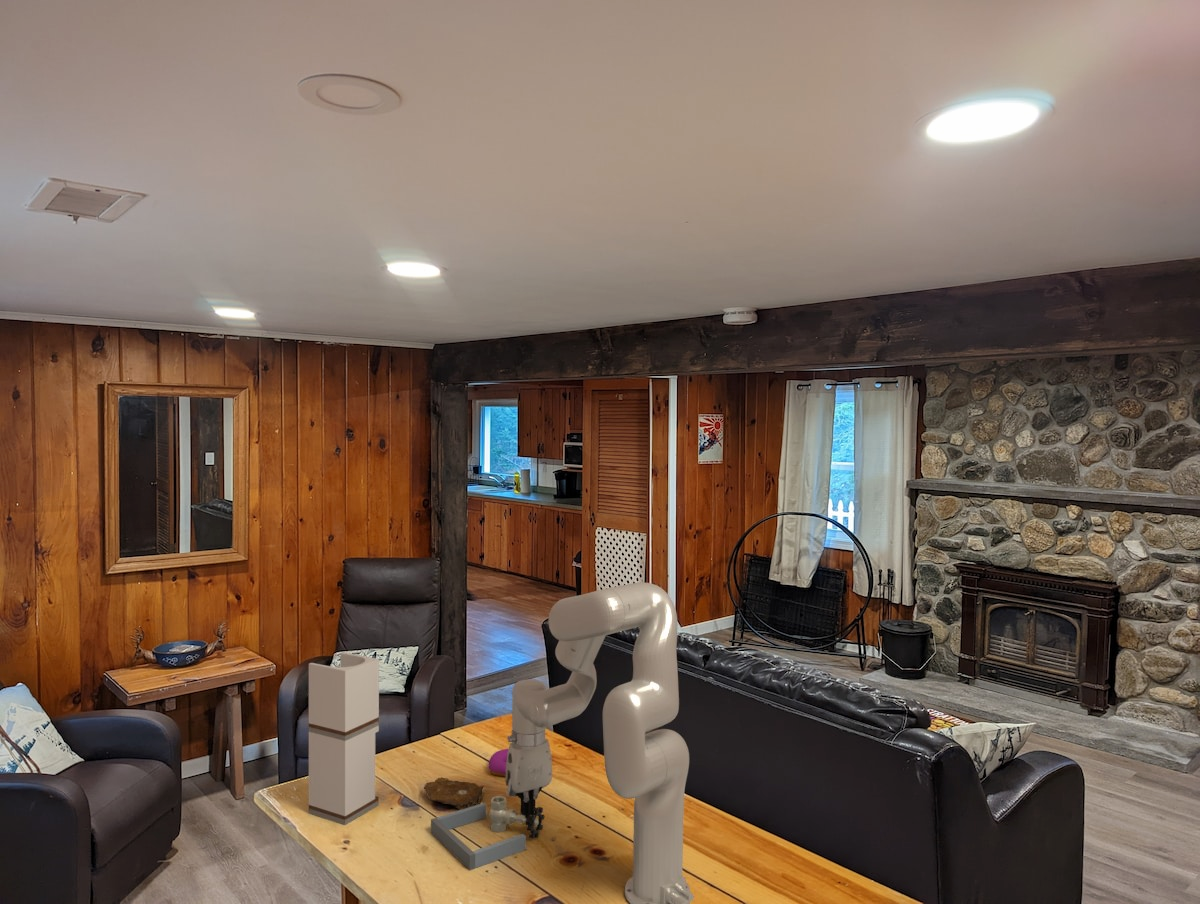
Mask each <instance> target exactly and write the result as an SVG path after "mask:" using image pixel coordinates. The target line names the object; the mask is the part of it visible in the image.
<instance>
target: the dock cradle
mask: <svg viewBox="0 0 1200 904" xmlns="http://www.w3.org/2000/svg"><path fill="white" fill-rule="evenodd" d="M486 818H487V804H486V803H485V802H482V803H479V804H478V803H477V804H476V805H475V806H472V807H469V808H465V809H461V810H459V809H458V810H456V811H452V812H450V813H447V814H444V815H440V816H437V817H434V818H430V834H431V835H432V836H433V837H435V838H436V839H437V840H438V841H439V842H440V843H441V844H442V845H443V846H444V847H445V848H446V849H447V850H448V851H449V852H450V853H451V854H452V855H453V856H454V857H455V858H456V859H457V860H458V861H459V862H461V863H462V864H463V865H464V866H465V868H466V869H468V871H472V870H474V869H477V868H480V867H483V866H486V865H488V864H491V863H494V862H496V861H499V860H501V859H504V858H507V857H510V856H513V855H515V854H519V853H521V852H524V851H526V839H527V837H526V835H525V834H524V833H521V834H518V835H515V836H512V837H510V838H506V839H504V840H500V841H498V842H495V843H492V844H490V845H487V846H484V847H481V848H478V849H475V850H471V848H469V846H467V845H466V843H464V842H463V841H462V840H461V839H460V838H459V837H458V836H456V834H454V833H453V832H452V829H456V828H459V827H462V826H464V825H469V824H472V823H474V822H477V821H480V820H483V819H486Z"/></svg>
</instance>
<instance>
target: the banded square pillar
mask: <svg viewBox="0 0 1200 904" xmlns="http://www.w3.org/2000/svg"><path fill="white" fill-rule="evenodd" d="M339 662H340V666H339V667H337V666H330V665H326V664H325V665H324V664H320V663H314V662H310V663H308V814H309V815H313V816H315V817H319V818H322V819H325V820H328V821H331V822H333V823H338V824H340V825H344V826H347V825H348V824H349V823H352V822H353V821H355V820H356V819H358V818H359V817H360V818H361V817H362V816H364V815H365V814H366V813H369V811H371V810H373V809H375V808H377V807H378V806H379V801H380V800H379V799H380V797H379V796H376V733H378V732H379V731H380V723H379V722H380V718H379V717H380V714H379V713H380V709H379V707H380V705H379V704H380V703H379V702H380V658H375V657H372V656H371V657H370V656H364V655H360V654H354V653H348V652H341V653H340V661H339Z"/></svg>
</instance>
